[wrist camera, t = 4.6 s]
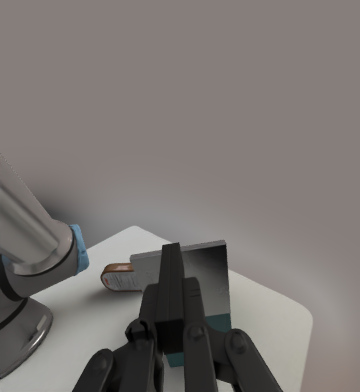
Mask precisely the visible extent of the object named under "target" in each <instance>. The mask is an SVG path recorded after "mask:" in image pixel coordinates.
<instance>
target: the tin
mask: <svg viewBox="0 0 360 392" xmlns="http://www.w3.org/2000/svg"><path fill="white" fill-rule="evenodd" d="M100 278H101V281H102V283H103V284H104V286H105V287H107V288H108V289H110V290H113V291H142V290H141V287H140V285H139V282H138V280H137V277H136V275H135V272H134V270H133V267H132V265H131V263H114V264H109V265H107V266H106V267H105V269H104V271H103V272H102V274H101V277H100Z"/></svg>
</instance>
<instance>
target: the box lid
mask: <svg viewBox="0 0 360 392" xmlns="http://www.w3.org/2000/svg"><path fill="white" fill-rule="evenodd" d="M180 249H181V254H182V259H183V264H184V272H185V278H189V277H195V276H196V278H197V279H198V281H199V283H200V289H201V294H202V300H203V306H204V312H205V317H206V316H213V315H219V314H226V313H230V296H229V280H228V265H227V249H226V242H225V240H220V241H213V242H208V243H201V244H195V245H189V246H183V247H180ZM161 254H162V250H159V251H152V252H146V253H140V254H134V255H131V257H130V262H131V265H132V267H133V270H134V272H135V275H136V277H137V280H138V282H139V285H140V287H141V290H142V292H143V293H144V290H145V288H146V287H147V285H148V284H154V283H158V281H159V272H160V263H161Z"/></svg>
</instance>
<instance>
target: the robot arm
mask: <svg viewBox="0 0 360 392" xmlns="http://www.w3.org/2000/svg"><path fill="white" fill-rule="evenodd" d="M88 266H89V259H88V255H87V252H86V248H85V244H84V241H83V237H82V234H81V231H80V228H79V226H78V225H69V226H67V225H66V224H65V223H63V222H61V221H57V220H52V218H51V217H50V216H49V215H48V213H47V212H46V211H45V210H44V208H43V207H42V206H41V204H40V203H39V202H38V201H37V199H36V198H35V197H34V196H33V194H32V193H31V192H30V191H29V189H28V188H27V187H26V185H25V184H24V183H23V182H22V180H21V179H20V178H19V177H18V175H17V174H16V173H15V171H14V170H13V169H12V168H11V166H10V165H9V164H8V163H7V161H6V160H5V159H4V157H3V156H2V155H1V154H0V379H1V378H3V377H4V376H6V375H7V374H9V373H10V372H11V371H13V370H14V369H15V368H17V367H18V366H19V365H20V364H22V363H23V362H24V361H25V360H26V359H27V358H28V357H29V356H30V355H31V354H32V353H33V352H34V351H35V350H36V349H37V347H38V346H39V345H40V344H41V342H42V341H43V340H44V338H45V337H46V335H47V333H48V332H49V330H50V327H51V325H52V321H53V316H52V313H51V311H50V310H49V308H47V307H46V306H45V305H43V304H41V303H39V302H37V301H36V300H34V299H32V298H30V297H29V296H31V295H33V294H35V293H38V292H40V291H42V290H44V289H46V288H48V287H50V286H52V285H55V284H57V283H59V282H61V281H63V280H65V279H67V278H70V277H72V276H75V275H77V274H78V273H80V272H82V271H83V270H85V269H87V268H88ZM125 335H126V337H127V339H128V343H127V344H125V345H124V346H122V347H120V348H118V349H117V350H115V351H113V352H112V351H111V350H109V349H102V350H100V351H98V352H97V353H95V354H94V355H93V356H92V358H91V359H90V360H89V362H88V363H87V365H86V367H85V369H84V371H83V372H82V374H81V376H80V378H79V380H78V382H77V383H76V385H75V387H74V389H73V391H72V392H163V382H164V364H163V361H162V357H163V352H164V355H168V354H175V353H182V352H183V353H184V378H185V392H218V387H217V381H216V379H218V380H221V381H224V382H227V383H230V384H231V386H232V388H233V391H234V392H283V391H282V389H281V388H280V386H279V384H278V383H277V381H276V380H275V378H274V376H273V375H272V373H271V371H270V370H269V368H268V366H267V365H266V363H265V361H264V360H263V358H262V357H261V355H260V353H259V352H258V350H257V348H256V347H255V345H254V343H253V342H252V340H251V339H250V337H249V336H248V335H247V334H246V333H245V332H244V331H242V330H241V329H236V328H235V329H230V330H229V331H228V332H226V333H225V332H221V331H217V330H215V329H213V328H212V327H211V326H210V325H209V324H208V323H207V321H206V317H205V312H204V306H203V300H202V294H201V289H200V283H199V281H198V279H197V278H196V276H195V277H189V278H185V272H184V264H183V259H182V254H181V249H180V244H179V242H178V243H172V244H166V245H162V254H161V263H160V272H159V281H158V283H154V284H148V285H147V287H146V288H145V290H144V293H143V298H142V303H141V308H140V313H139V318H138V319H135V320H134V321H133V322H131V323H130V324H129V326H128V327H127V329H126V331H125Z"/></svg>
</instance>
